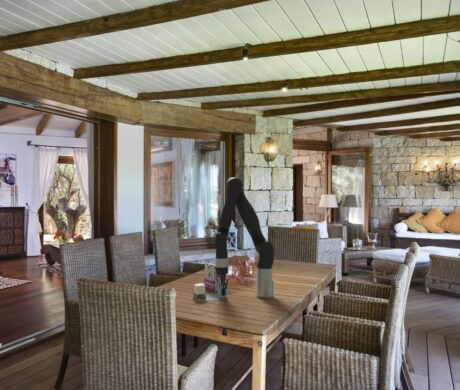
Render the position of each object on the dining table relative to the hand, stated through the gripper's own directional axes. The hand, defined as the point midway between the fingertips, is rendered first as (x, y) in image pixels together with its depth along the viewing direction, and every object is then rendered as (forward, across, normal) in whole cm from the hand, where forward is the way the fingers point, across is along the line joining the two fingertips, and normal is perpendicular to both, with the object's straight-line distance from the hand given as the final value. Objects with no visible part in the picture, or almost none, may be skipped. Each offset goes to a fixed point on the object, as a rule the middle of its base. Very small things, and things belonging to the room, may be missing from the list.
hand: (222, 294), depth 234 cm
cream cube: (-1, +2, +13) cm, 13 cm away
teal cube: (0, 0, 0) cm, 0 cm away
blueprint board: (+2, +3, +8) cm, 8 cm away
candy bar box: (+2, +21, -1) cm, 21 cm away
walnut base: (+2, +3, +13) cm, 13 cm away
